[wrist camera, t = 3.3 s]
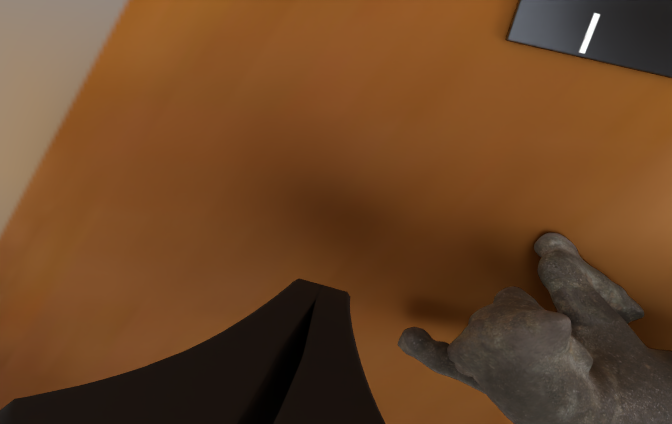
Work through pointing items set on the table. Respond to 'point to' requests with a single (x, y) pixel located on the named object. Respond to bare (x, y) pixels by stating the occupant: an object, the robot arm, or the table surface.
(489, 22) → the table surface
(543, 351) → the dog figurine
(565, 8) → the ruler
